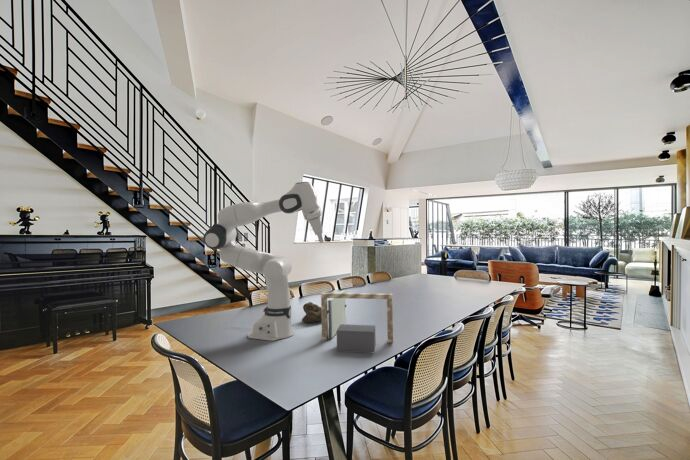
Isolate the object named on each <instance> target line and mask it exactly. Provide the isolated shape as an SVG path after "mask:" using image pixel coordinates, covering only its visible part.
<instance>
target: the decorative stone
mask: <svg viewBox="0 0 690 460" xmlns="http://www.w3.org/2000/svg"><path fill="white" fill-rule="evenodd" d="M302 309H303V311H304V313H305V315H304V316H303V317H302V319H301V322H302V323H306V324H311V323H314V322H320V323H322V315H321V306H319V305H318V304H316V303H313V302H311V301H308V302H306V303H304V304H303V306H302ZM327 311H328V309H327Z"/></svg>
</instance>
